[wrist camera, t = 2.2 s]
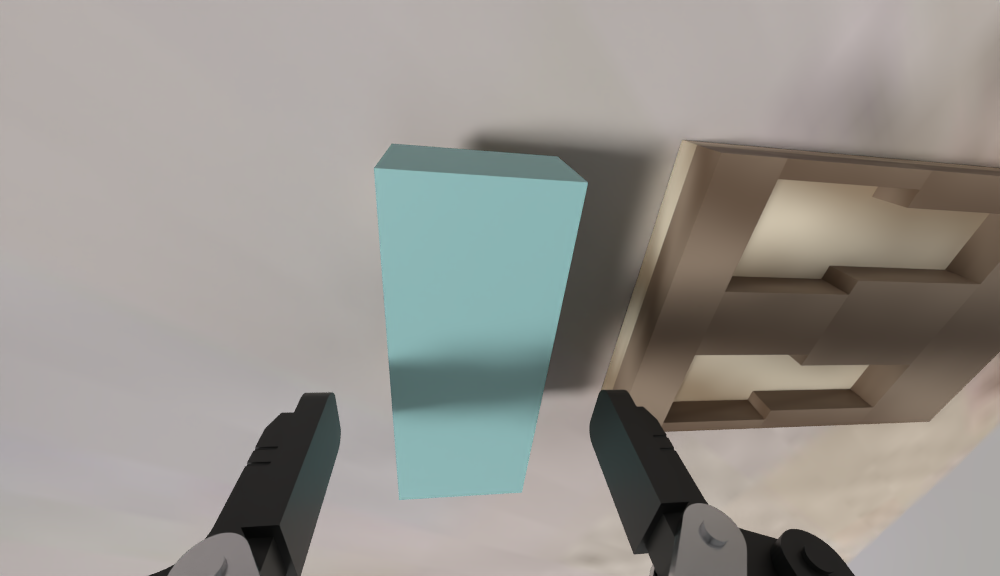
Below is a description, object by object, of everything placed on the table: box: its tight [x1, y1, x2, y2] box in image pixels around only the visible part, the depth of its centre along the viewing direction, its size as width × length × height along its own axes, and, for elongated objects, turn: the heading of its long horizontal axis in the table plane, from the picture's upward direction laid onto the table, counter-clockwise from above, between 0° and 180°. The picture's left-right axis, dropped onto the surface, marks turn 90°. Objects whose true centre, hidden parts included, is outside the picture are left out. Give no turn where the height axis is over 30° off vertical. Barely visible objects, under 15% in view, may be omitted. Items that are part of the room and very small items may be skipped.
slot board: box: [601, 140, 1000, 432], centre depth 18 cm, size 14×20×2 cm
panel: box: [374, 144, 588, 500], centre depth 14 cm, size 13×5×6 cm, turn 175°
